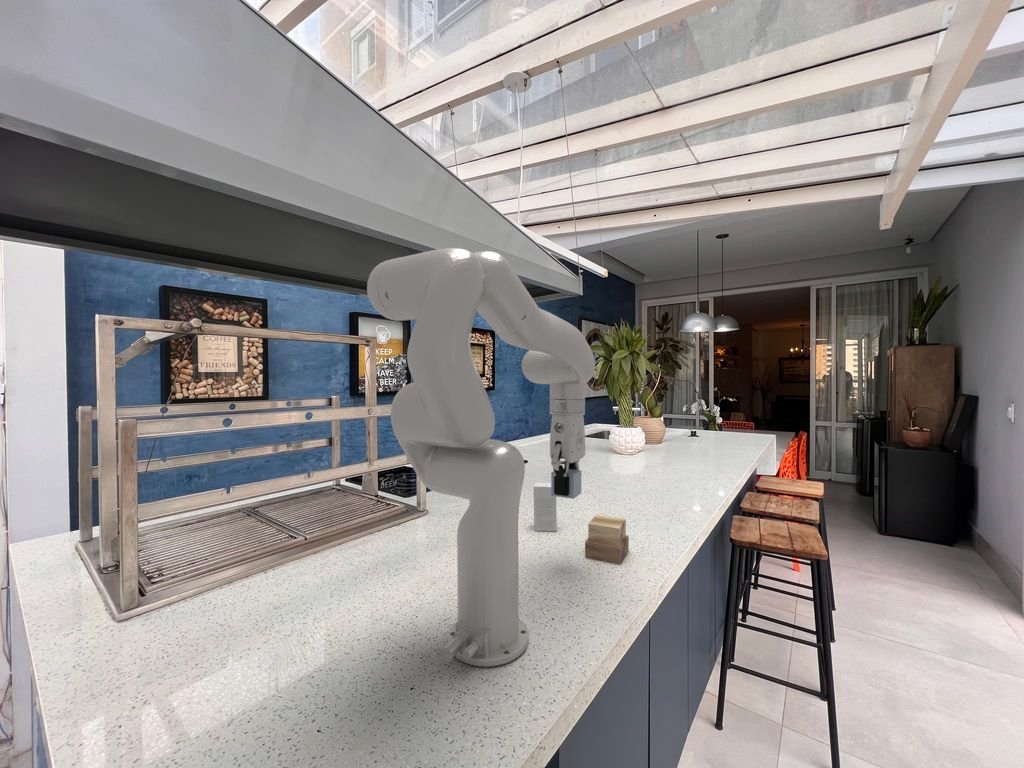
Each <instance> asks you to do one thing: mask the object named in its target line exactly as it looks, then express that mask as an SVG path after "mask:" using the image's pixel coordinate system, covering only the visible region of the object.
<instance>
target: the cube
mask: <svg viewBox="0 0 1024 768" xmlns="http://www.w3.org/2000/svg"><path fill="white" fill-rule="evenodd" d="M568 477H569V495H568V496H562V495H556V494H554V470H553V471H551V477H550V478H551V480H550V483H551V496H556V498H557V497H558V498H559V497H560V498H566V499H572V500H574V499H576V498H577V497H578V496H579V495H581V494H582V470H580V469H579V470H573V469H568Z"/></svg>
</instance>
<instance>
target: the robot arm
mask: <svg viewBox="0 0 1024 768" xmlns="http://www.w3.org/2000/svg"><path fill="white" fill-rule="evenodd" d="M366 283H367V285H366V289H367V290H366V291H367V296H368V300H369V302H370V304H371V306H372V307H373V308H374V310H375V311H376V312H377V313H379V314H380V315H381V316H382V317H384V318H385V319H388V320H392V321H397V322H398V321H399V322H400V321H401V322H403V321H411V320H415V322H414V327H413V328H412V331H411V334H410V338H409V343H408V347H407V352H406V356H407V357H406V358H407V359H406V360H407V366H408V370H409V373H410V375H411V377H412V380H413V382H410V383H408V384H406V385H404V386H403V387H401V388H400V389H399V390H397V391H398V392H397V393H396V394H395V396H394V398H393V401H392V403H391V407H390V422H391V423H390V424H391V427H392V431H393V434H394V436H395V438H396V439H397V441H398V444H399V445H400V447H401V449H402V451H403V453H404V454H405V456H406V458H407V460H408V461H409V463H410V465H411V467H412V469H413V470H414V472H415V474H416V476H417V477H418V479H419V481H420V482H421V483H422V485H424V487H426V488H427V489H428V490H430V491H432V492H435V493H438V494H442V495H446V496H452V497H457V498H461V499H466V500H468V501H469V505H468V507H467V508H466V511H465V512H464V513H463V515H462V517H461V518H460V520H459V523H458V527H457V530H456V531H457V533H456V545H457V546H456V549H457V551H456V552H457V553H456V554H457V557H456V559H457V565H456V566H457V567H456V568H457V574H456V577H457V621H455V622H454V623H453V625H452V626H451V627H450V628H449V631H448V634H447V643H446V644H445V645H444V646H443V647H442V648H441V650H440V655H441V657H442V659H443V660H444V661H445V662H450V661H452V660H453V659H454V657H455V658H456V659H457V660H458V661H461V662H462V663H465V664H467V665H471V666H476V667H497V666H502V665H505V664H507V663H510V662H512V661H514V660H515V659H517V658H519V657H520V656H521V655H522V654H523V653H524V652H525V650H526V649H527V646H528V644H529V630H528V627H527V626H526V624H525V623H524V621H523V620H521V619H520V618H519V617H520V616H519V610H520V605H519V513H520V512H519V511H520V501H521V495H522V490H523V485H524V478H525V471H526V469H525V466H526V465H525V460H524V457H523V455H522V453H521V451H520V450H519V449H518V448H517V447H516V446H514V445H512V444H511V443H509V442H506V441H504V440H503V441H502V440H500V439H499V440H498V439H495V438H494V439H491V438H492V437H493V434H494V432H495V428H496V427H495V426H496V418H495V413H494V410H493V406H492V404H491V401H490V398H489V396H488V393H487V390H486V387H485V385H484V383H483V381H482V378H481V376H480V373H479V370H478V368H477V364H476V362H475V359H474V356H473V353H472V348H471V335H472V334H471V333H472V329H473V325H474V319H475V316H476V313H478V314H479V315H480V316H481V318H482V319H484V321H486V323H487V324H488V325H489V327H490V328H491V329H492V330H493V331H494V333H496V335H497V336H498V338H499V339H500V340H501V341H502V342H504V343H506V344H508V345H511V346H514V347H517V348H519V349H524V350H527V352H525V354H524V355H523V358H522V361H521V370H522V373H523V375H524V377H525V378H526V379H527V380H528V381H530V382H531V383H533V384H537V385H549V415H551V423H550V436H549V457H550V460H551V462H550V464H551V466H552V469H553V471H554V494H556V495H562V496H568V495H569V477H568V469H573V470H580V467H579V466H580V465H579V462H580V460H582V459H583V458H584V457H585V456H586V434H585V433H586V432H585V419H584V416H585V414H586V384H587V383H588V382H589V381H590V380H591V379H592V378H593V376H594V374H595V371H596V361H595V356H594V353H593V351H592V349H591V347H590V345H589V343H588V340H587V339H586V338H585V336H584V334H583V333H582V332H581V331H580V330H579V329H578V328H577V327H576V326H575V325H573V324H571V323H570V322H568V321H566V320H564V319H563V318H560V316H557V315H555V314H553V313H551V312H549V311H547V310H545V309H542V308H540V307H539V306H538V305H537V303H536V302H535V300H534V298H533V297H532V296H531V294H530V292H529V291H528V290H527V287H525V285H524V284H523V282H522V280H521V279H520V277H519V276H518V274H517V273H516V272H515V270H514V268H513V267H512V266H511V264H510V263H509V261H508V260H507V259H506V258H505V257H504V256H503V255H502V254H500V253H498V252H496V251H495V252H494V251H490V250H489V251H488V250H486V251H485V250H484V251H477V252H471V251H469V250H467V249H464V248H459V247H458V248H457V247H447V248H439V249H434V250H433V249H432V250H428V251H423V252H419V253H415V254H411V255H405V256H401V257H395V258H392V259H391V258H390V259H388V260H385V261H382V262H380V263H379V264H377V265H376V266H375V267H374V268H373V269H372V270H371V272H370V274H369V276H368V280H367V282H366ZM562 459H563V460H562Z"/></svg>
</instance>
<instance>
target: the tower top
mask: <svg viewBox="0 0 1024 768" xmlns="http://www.w3.org/2000/svg"><path fill="white" fill-rule="evenodd" d="M587 527H588V531H587V533H588V535H587V536H588V537H587V539H588V541H590V542H596V543H602V544H607V545H613V546H618V547H619V546H620V545H621V543H622V541H623V540H624V538H625V536H626V535H627V518H622V517H616V516H610V515H603V514H602V515H601V514H595V516H594V517H593V518H592V519H591V520H590V521H589V522H588V526H587Z"/></svg>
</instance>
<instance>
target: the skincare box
mask: <svg viewBox="0 0 1024 768" xmlns="http://www.w3.org/2000/svg"><path fill="white" fill-rule="evenodd" d="M557 521H558V520H557V496H551V482H534V484H533V524H534V525H533V529H534V531H535V532H557V524H558V523H557Z"/></svg>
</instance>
